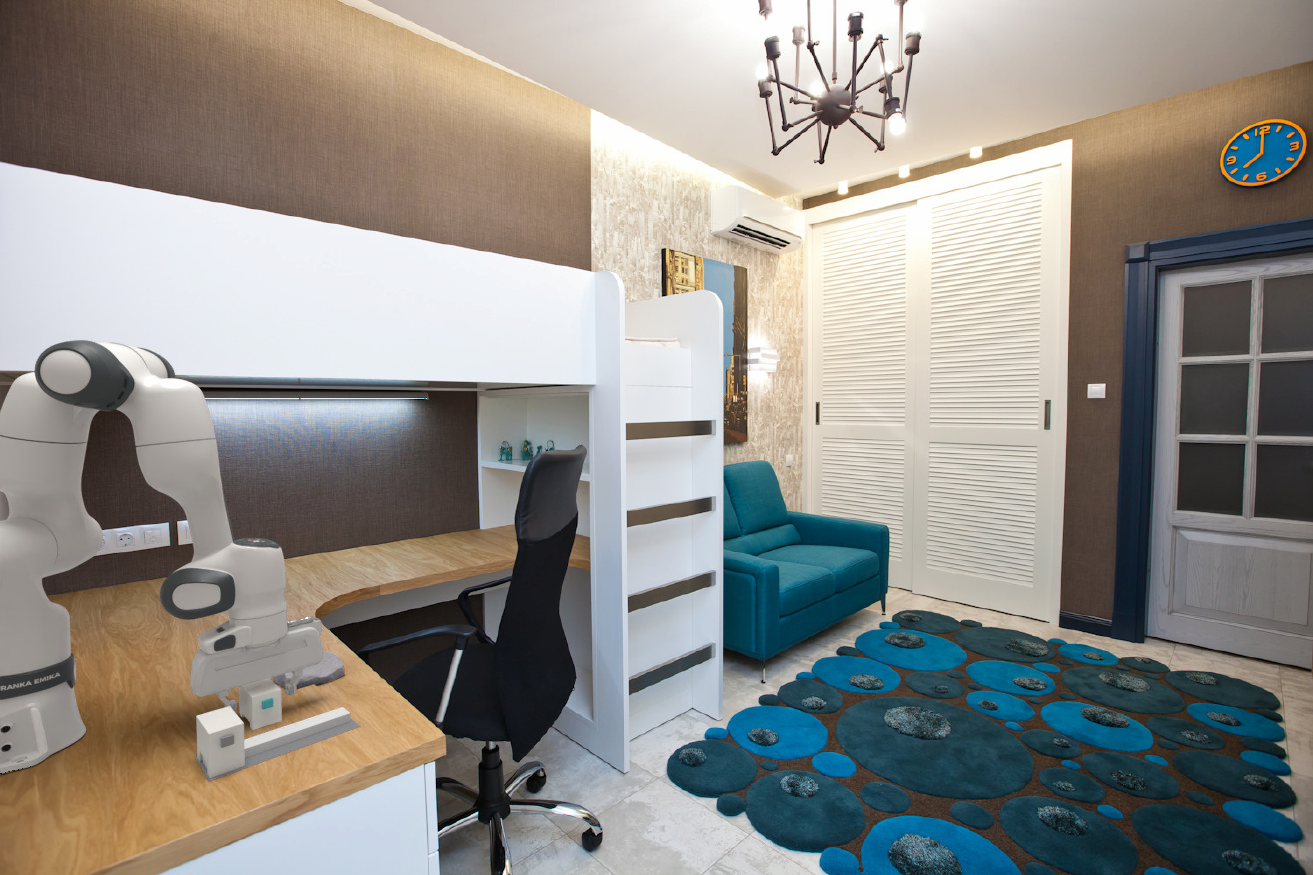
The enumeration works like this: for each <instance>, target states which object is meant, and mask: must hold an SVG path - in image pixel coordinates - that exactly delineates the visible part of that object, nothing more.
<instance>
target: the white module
mask: <svg viewBox="0 0 1313 875" xmlns="http://www.w3.org/2000/svg"><path fill="white" fill-rule="evenodd" d="M238 693H239V694H238V696H239V697H238V698H239V699H238V700H239V715H240V717H242V718H245V719H247V721H248V722H249V727H250V729H251V730H252V731H255V730H258V729H261V728H264V727H267V726H270V725H273V724H277V723H280V722H282V721H283V717H282V716H283V715H282V714H283V713H282V712H283V711H282V704H283V703H282V688H281V686H280V685H277V684H276V683H274V680H272V679H271V678H268V679H264V680H260V681H257V682H253V683H250V684H246V685H243V686H239V687H238Z"/></svg>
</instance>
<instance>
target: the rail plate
mask: <svg viewBox="0 0 1313 875" xmlns="http://www.w3.org/2000/svg"><path fill="white" fill-rule="evenodd" d="M358 728H361V725H360V724H358V723H357V722H356V721H355V720H354V719H353V718H351V712H350V711H348V710H347V708H345V707H344V706H342V707H341V706H340V707H338V708H335V709H332V710H329V711H326V712H323V713H320V714H317V715H315V716H311V717H308V718H305V719H302V720H299V721H296V722H294V723H291V724H287V725H284V726H281V727H278V728H274V729H271V730H270V731H269V730H268V731H266V732H263V733H260V734H256V735H254V736H251V737H249V738H246V739H245V738H244V750H245V766H243V767H240V768H238V769H235V770H232V771H229V772H226V773H224V774H221V775H218V776H215V777H213V778H209V776H208V774H207V762H206V760H205V758H204V757H203V761H199V759H198V758H197V755H195V756H193V757H194V758H195V760H196V762H197V763H198V765H199V767H200V768H201V770H202V773H203V774H204V775H205V777H206V779H207V781H208V782H212V781H214V780H217V779H220V778H222V777H225V776H228V775H231V774H234V773H237V772H239V771H242V770H244V769H248V768H250V767H251V768H252V767H253V766H256V765H258V764H261V763H263V762H266V761H270V760H272V759H275V758H278V757H281V756H284V755H286V754H289V753H292V752H295V751H297V750H300V749H303V748H305V747H309V746H310V745H311V746H312V745H314V744H316V743H320V742H322V741H325V740H327V739H330V738H333V737H336V736H338V735H342V734H344V733H347V732H350V731H352V730H355V729H358Z"/></svg>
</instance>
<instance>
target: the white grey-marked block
mask: <svg viewBox="0 0 1313 875" xmlns="http://www.w3.org/2000/svg"><path fill="white" fill-rule="evenodd" d="M195 717H196V718H195V720H196V752H197V753H196V754H197V755H196V756H197V758H198V759H199V761H203V757H204V758H205V760H206V762H207V774H208V776H209V778H213V777H215V776H218V775H221V774H224V773H226V772H229V771H232V770H235V769H238V768H240V767H243V766H245V750H244V739H245V723H244V721H243V720H242V719H241V718H240V716H239V714H237V713H236V712H234V710H233V709H232V708H231V707H230V706H228V707H225V706H224V707H221V708H218V709H214V710H211V711H208V712H204V713H202V714H198V715H196V716H195Z"/></svg>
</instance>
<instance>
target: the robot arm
mask: <svg viewBox="0 0 1313 875" xmlns="http://www.w3.org/2000/svg"><path fill="white" fill-rule="evenodd" d="M34 366H35V367H34V371H32V372H28V373H25V374H21V376H18V377H17V378H15V380H14V381H13V382H12V384H11V386H10V388H9V390H8V392H7V394H6V396H5V397H4V398H5V399H4V401H3V403H2V405H1V409H0V492H1V493H4V495H5V497H6V499H7V504H8V509H9V510H8V516H7V518H6V519H2V520H0V773H2V774H5V772H6V773H9V772H8V771H10V772H13V771H12V770H15V771H18V769H19V770H22V768H23V769H26V768H30V766H31V767H33V766H36V765H38V764H39V763H41V762H44V760H46V759H47V758H48V757H50V756H52V755H53V754H55V753H57V752H59V751H61V750H63V749H65V748H67V747H69V746H70V745H73V744H74V743H76V742H77V741H78V740H80V739H82V737H84V735H85V734H86V731H87V728H86V726H85V724H84V721H83V720H82V716H81V713H80V711H79V708H78V703H77V700H76V693H75V689H74V687H75V685H76V681H77V666H76V659H75V655H74V653H72V651H71V650H72V648H71V624H70V623H71V619H70V617H71V616H70V613H69V611H68V609H66V607H64V606H63V605H61V604H59V603H56V602H52V601H51V600H50V599H49V597H48V596H47V594H46V591H45V589H44V587H43V578H47V577H49V576H53V575H56V574H60V573H61V574H62V573H64V572H67V571H70V570H72V569H74V568H76V567H78V566H79V565H81V564H83V563H85V562H87V561H88V560H90V559H92V558H93V557H94V556H96V555H97V554H98V552H99V551H100V550H101V548H102V546H103V541H104V533H103V530H102V527H101V525H100V524H99V523H98V521H97V520H95V518H93V517H92V516H91V515H90V514H89V513H88V512H87V509H86V506H85V503H84V498H83V495H82V494H83V492H82V476H83V475H82V474H83V470H84V462H85V457H86V453H87V452H86V451H87V446H88V441H89V434H90V429H91V425H92V421H93V419H94V416H95V415H96V414H97V413H98V412H99V411H102V412H113V411H116V410H117V411H119V412H121V413H123V414H124V415H125V416H126V417H127V418H128V419H129V420H130V423H131V426H132V431H133V435H134V445H135V450H136V456H137V461H138V465H139V468H140V470H141V471H140V472H141V473H142V475H143V478H144V480H145V482H146V483H147V484H148V485H149V486H150V487H152V489H154V490H155V491H157V492H159V493H162V494H164V495H166V496H168V497H170V498H172V499H173V500H174V501H176V502H177V503H178V504H179V505H180V507H182V510H183V511H184V514H185V516H186V521H187V525H188V530H189V533H190V538H191V542H192V546H193V556H192V559H191V561H190V562H189V563H186V564H185V565H183V566H181V567H180V568H178V569H176V570H174V571H173V572H172V573H171V574H169V575H168V576H167V577H166V578H165V579H164V581H163V582H162V584H161V587H160V590H159V600H160V604H161V606H162V607H163V609H164V610H165V611H166V613H167V614H169V615H171V616H172V617H174V618H175V619H176V618H177V619H179V620H187V621H190V620H196V619H197V620H198V619H201V618H206V617H210V616H214V615H217V614H220V613H221V614H222V613H225V612H226V613H228V616H229V617H228V619H229V620H227V621H225V622H223V623H221V624H219V625H217V626H214V627H212V628H210V629H209V630H207V631H204V632H202V633H201V634H200V635H198V637H197V644H198V647H199V649H198V650H197V652H196V653H195V654H194V656H193V659H192V662H191V668H190V682H189V683H190V684H189V685H190V690H191V692H192V693H193V695H195V696H197V697H199V698H203V697H206V696H210V695H213V694H216V696H217V697H218V698H219V699H220V701H222V703H223V704H224V708H225V707H228V706H230V707H231V708H232V709H233V710H234V712H235V713H236V712H238V708H237V706H238V702H237V700H235V699H230V700H229V699H228V698H227V697H226V696H229V694H230V692H229V690H231V689H235V688H239V686H243V685H246V684H250V683H253V682H257V681H260V680H264V679H268V678H270V679H271V678H273V677H275V676H278V675H282V674H285V673H289V672H291V673H292V674H293V677H292V679H291V681H290V683H288V684H285V688H286V689H285V688H284V693H285V695H286V696H288V697H289V696H291V695H295V694H297V691H298V689H297V687H296V685H297V684H298V682H299V680H300V678H301V676H302V675H303V668H307V667H310V666H314V665H317V664H319V663H320V662H321V660H322V659H323V644H322V640H321V639H322V638H321V634H322V631H323V626H322V625H323V623H322V621H321V619H320V618H318V617H314V616H313V615H310V616H309V615H308V616H305V617H302V618H295V619H292V620H288V604H287V602H286V599H285V591H286V587H287V572H286V562H285V556H284V553H283V550H282V547H281V546H280V544H278V543H277V542H276V541H275V540H274V541H273V540H271V539H267V538H261V537H249V538H247V537H246V538H245V537H244V538H239V539H236V540H235V537H234V536H235V535H234V532H233V528H232V527H233V526H232V524H231V518H230V514H229V510H228V509H229V508H228V505H227V502H226V501H227V500H226V497H225V493H224V490H223V483H222V476H221V469H220V468H221V467H220V461H219V460H220V459H219V452H218V450H219V449H218V443H217V439H216V438H217V437H216V431H215V427H214V423H213V419H212V416H211V412H210V409H209V407H208V403H207V401H206V398H205V395H204V393H203V391H202V390H201V389H200V387H199V386H198V385H196V384H195V383H193V382H190V381H188V380H185V379H180V378H176V372H175V369H174V368H173V365H171V363H170V362H169V361H168V360H167V359H166V358H165V357H163V356H162V355H161V354H159V353H157V352H155V351H154V350H153V351H152V350H151V349H147V348H145V347H136V346H133V345H129V344H125V343H121V342H119V343H118V342H113V341H109V342H104V341H103V342H101V341H92V340H87V339H86V340H85V339H78V340H77V339H75V340H68V341H63V342H58V343H56V344H53V345H50V346H49V347H47V348H46V349H44V350H43V351H42V352H41V353H40V355H39V356H38V358H37V360H36V361H35V365H34Z"/></svg>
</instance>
